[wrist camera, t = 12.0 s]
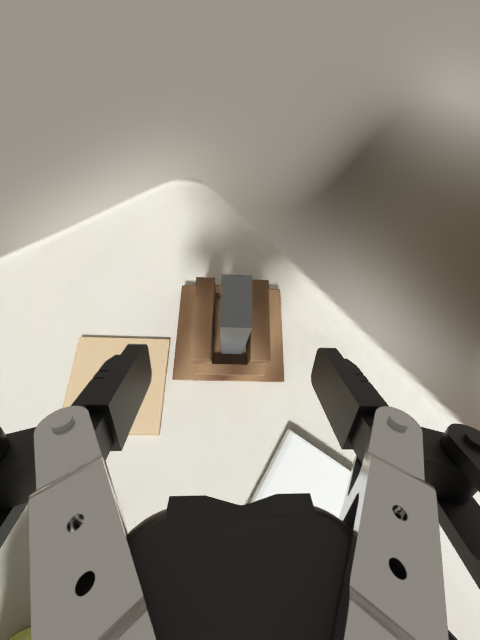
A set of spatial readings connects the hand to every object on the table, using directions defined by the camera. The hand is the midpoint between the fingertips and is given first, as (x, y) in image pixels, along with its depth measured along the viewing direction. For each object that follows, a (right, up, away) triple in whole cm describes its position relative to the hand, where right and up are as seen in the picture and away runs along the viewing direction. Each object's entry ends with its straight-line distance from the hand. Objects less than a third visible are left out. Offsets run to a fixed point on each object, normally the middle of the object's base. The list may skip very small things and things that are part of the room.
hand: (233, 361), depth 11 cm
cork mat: (-13, -5, +14) cm, 20 cm away
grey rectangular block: (-1, 0, +15) cm, 15 cm away
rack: (-1, 0, +16) cm, 16 cm away
